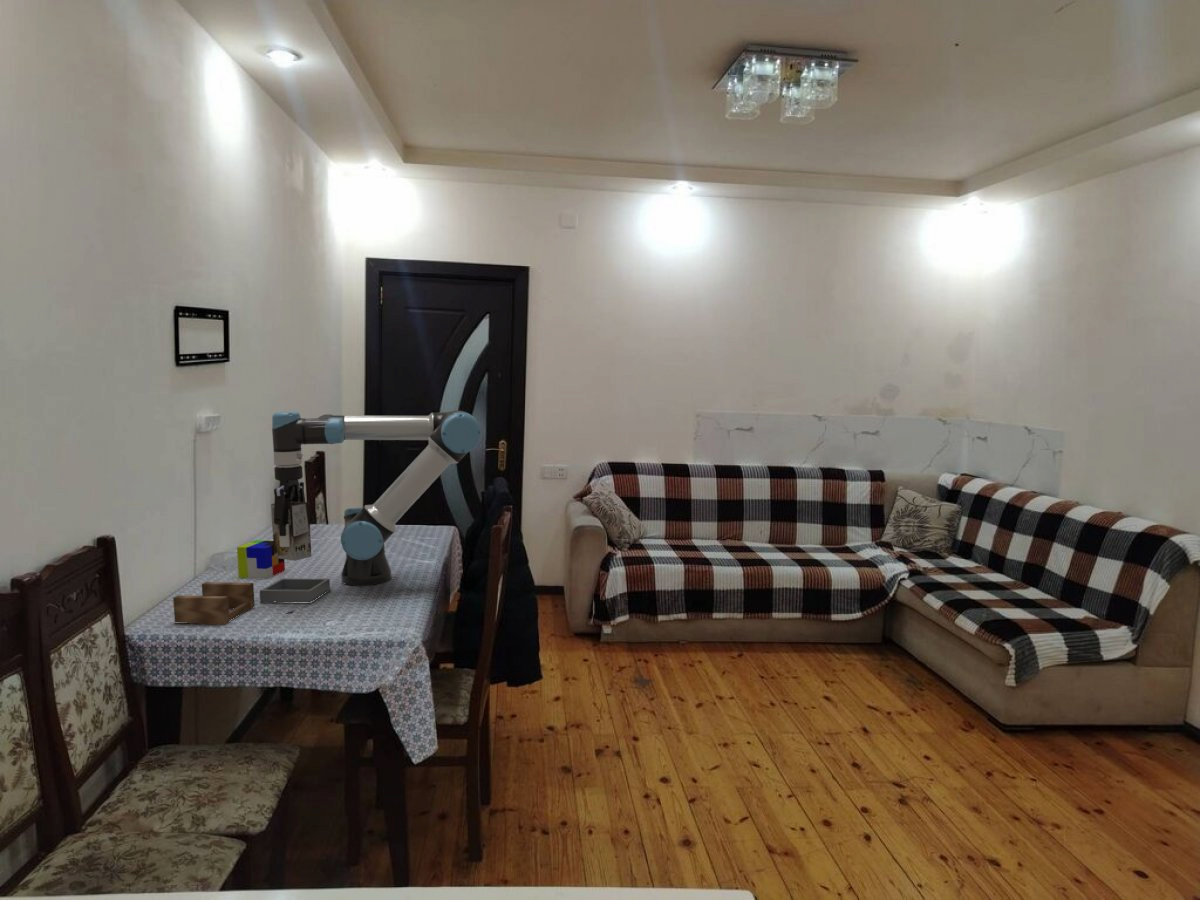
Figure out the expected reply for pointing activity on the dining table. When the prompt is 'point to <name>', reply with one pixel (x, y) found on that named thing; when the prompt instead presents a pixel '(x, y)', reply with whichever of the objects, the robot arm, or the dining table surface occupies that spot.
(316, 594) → the tray
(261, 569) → the puzzle toy
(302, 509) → the coffee box
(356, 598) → the dining table surface
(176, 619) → the holder
